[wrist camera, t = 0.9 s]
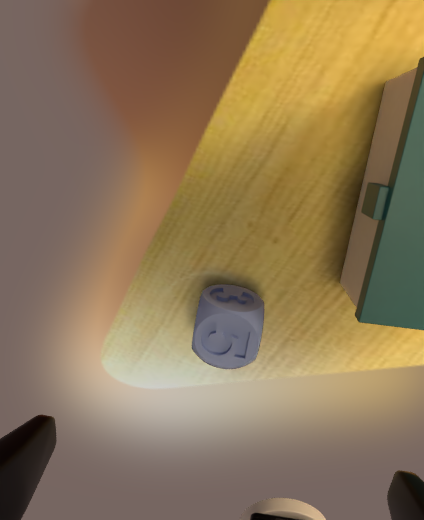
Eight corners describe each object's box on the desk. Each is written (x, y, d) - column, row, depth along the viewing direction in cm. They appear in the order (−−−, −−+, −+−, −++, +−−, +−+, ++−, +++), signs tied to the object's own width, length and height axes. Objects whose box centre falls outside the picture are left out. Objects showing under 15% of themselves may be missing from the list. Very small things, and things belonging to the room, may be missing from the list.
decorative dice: (252, 339, 25) (253, 375, 21) (197, 330, 25) (188, 363, 21) (262, 289, 23) (265, 317, 19) (205, 279, 23) (197, 305, 20)
